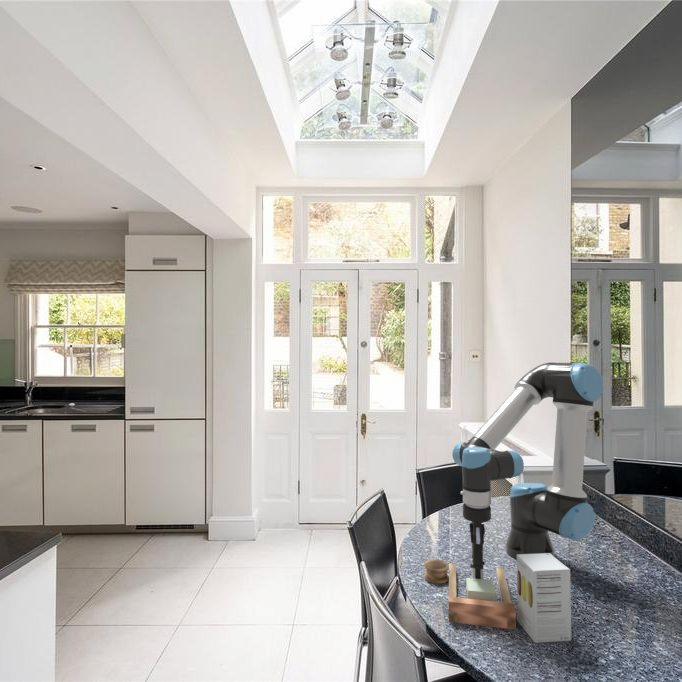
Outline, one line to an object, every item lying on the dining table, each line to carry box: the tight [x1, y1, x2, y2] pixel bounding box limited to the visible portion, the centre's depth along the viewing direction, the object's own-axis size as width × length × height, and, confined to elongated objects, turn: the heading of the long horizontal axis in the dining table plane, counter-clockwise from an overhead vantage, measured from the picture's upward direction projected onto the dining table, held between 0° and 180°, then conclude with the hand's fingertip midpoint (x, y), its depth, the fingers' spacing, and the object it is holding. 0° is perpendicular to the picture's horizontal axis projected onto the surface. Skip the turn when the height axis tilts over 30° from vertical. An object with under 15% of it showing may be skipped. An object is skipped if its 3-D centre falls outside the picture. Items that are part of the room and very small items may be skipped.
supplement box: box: [516, 553, 572, 644], centre depth 115 cm, size 10×9×17 cm
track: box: [448, 563, 517, 630], centre depth 130 cm, size 16×28×5 cm, turn 167°
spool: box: [423, 558, 449, 585], centre depth 142 cm, size 7×7×4 cm
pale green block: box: [465, 577, 497, 602], centre depth 125 cm, size 7×7×6 cm
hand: (477, 590), depth 130 cm, fingers closed
